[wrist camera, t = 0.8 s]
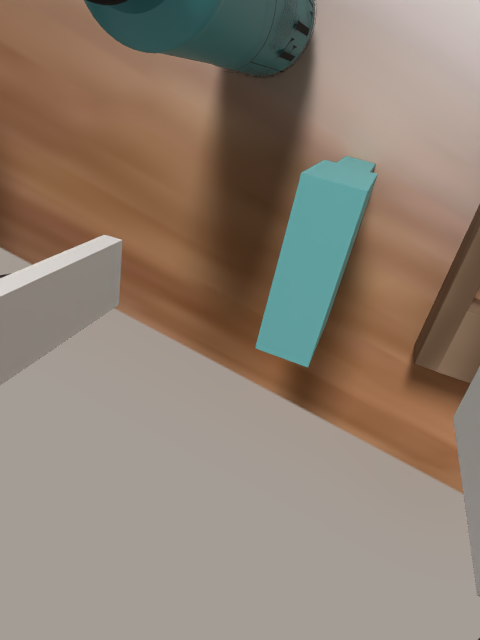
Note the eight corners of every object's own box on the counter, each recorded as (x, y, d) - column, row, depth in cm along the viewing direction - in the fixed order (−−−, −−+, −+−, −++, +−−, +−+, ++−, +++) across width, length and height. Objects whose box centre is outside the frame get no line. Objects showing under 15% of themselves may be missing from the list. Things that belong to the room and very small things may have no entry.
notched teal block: (302, 277, 35) (255, 348, 25) (339, 150, 30) (301, 172, 20) (340, 290, 34) (308, 367, 24) (384, 162, 30) (367, 190, 20)
